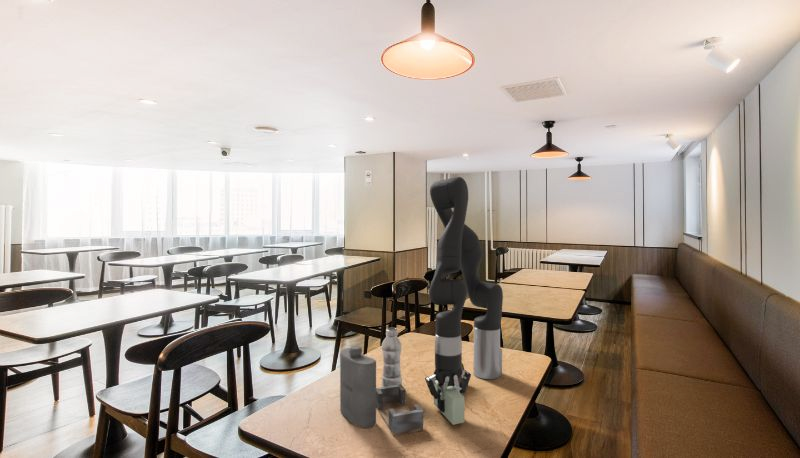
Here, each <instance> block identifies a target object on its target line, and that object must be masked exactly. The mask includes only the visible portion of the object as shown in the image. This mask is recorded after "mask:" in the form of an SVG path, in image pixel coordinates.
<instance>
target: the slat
mask: <svg viewBox="0 0 800 458" xmlns="http://www.w3.org/2000/svg"><path fill="white" fill-rule="evenodd" d="M437 384H438V381H437V380H435V384H434V386H435V389H436V391H437V389H438V388H437ZM444 400H445V412H443V413H442V414H443V416H444V417H445V418H446V420H448V421H449V423H451V424H452V425H458V424H462V423H465V396H464V394H463V393H462V394H461V393H460V392H458V391H457V390H455V389H454V388H453V387H452V386H449V387H447V391H446V392H445V396H444ZM437 404H438V403H437V399H435V398H434V397H433V405H434V406H435V407H436V408H437V409H438V407H437Z"/></svg>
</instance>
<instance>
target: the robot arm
mask: <svg viewBox="0 0 800 458" xmlns="http://www.w3.org/2000/svg"><path fill="white" fill-rule="evenodd" d="M468 187H469V186H468V184H467V181H466V180H465V179H464V177H461V176H456V177H450V178H446V179H441V180H437V181H434V182H432V183H431V184H430V185H429V193H430V195H429V196H430V199H431V203H432V204H433V206H434V209H435V211H436V213H437V215H438V217H439V219H440V221H441V222H442V225H443V228H444V230H443V232H441V235H440V237H439V239H438V241H437V242H438V243H437V247H436V265H435V271H434V274H433V278H432V280H431V282H430V286H429V288H428V289H429V290H428V296H429V299H430V301H431V302H432V303H433V304H435V305H446V306H447V305H448V306H452V305H453V308H451V309H450V310H444V311H440V312H438V313H437V314H436V317H435V337H434V368H435V369H434V371H433V374H432V375H431V376H425V378H424V379H425V383H426V385H427V388H428V390H429V393H430V395H431V396H432V397H433V399H434V398H435V399H437V403H438V404H437V407H438V408H437V407H436V408H437V409H438V411H439V412H441V414H443V412H445V400H444V396H445V392H446V391H447V387H449V386H452V387H453V388H454V389H455V390H457V391H458V392H460V393H461V394H462V395H464V394H465V393H466V392H467V389H468V386H469V383H470V380H471V376H472V374H471V373H470V372H469V371H467V370H466V369H464V371H463V370H462V369H461V366H462V363H463V362H462V361H463V359H462V358H463V357H462V356H463V355H462V354H463V353H462V351H463V342H462V328H461V327H462V314H463V309H464V307H465V303H466V300H467V296H468V298H469V301H470V302H471V304H472V306H475V307H477V308H482V309H486V313H485V314H484V315H480V316H476V317H475V318H474V319H473V375H474V376H475V377H476V378H479V379H484V380H496V379H498V378H500V377H501V376H503V349H502V348H501V322H502V316H503V301H504V300H503V299H504V293H503V289H502V286H501V285H500V284H498V283H494V282H488V281H487V282H486V281H483V280H481V278H480V275H479V271H478V270H479V269H480V265H481V264H482V260H483V256H484V251H483V250H484V249H483V248H482V244H481V241H480V239H479V236H478V235H477V233H476V232H475V231H474V230H472V228H471V227H470V226H468V225H467V224H466V223H465V222H466V216H467V210H468V203H469V188H468ZM459 271H461V273H462V277H463V280H462V279H459V278H457V279H455V278H454V279H451V278H450V279H449V278H445V277H446V276H447V275H451V274H455V273H458V272H459ZM444 278H445V279H444ZM460 377H461V380H460V383H458V380H459V378H460ZM435 379H437V381H438V384H437V388H438V389H437V391H436V389H435V386H434V384H435Z"/></svg>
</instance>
